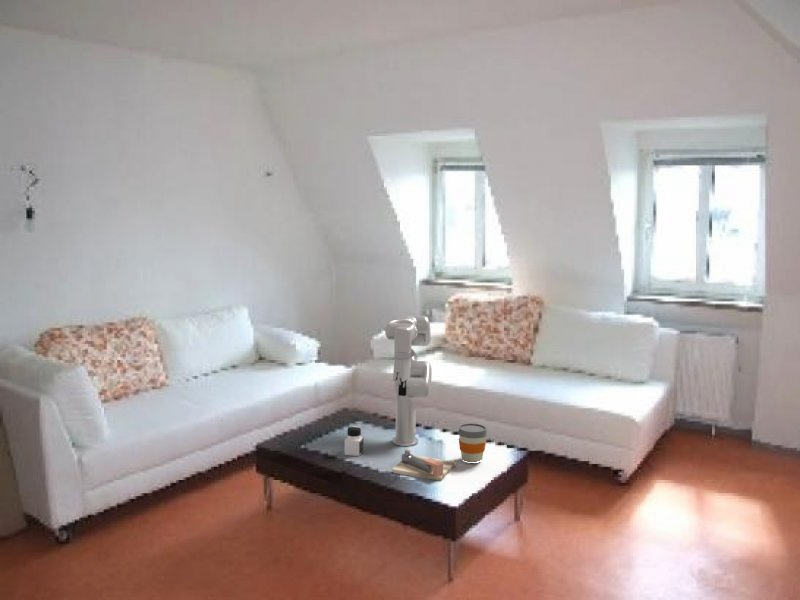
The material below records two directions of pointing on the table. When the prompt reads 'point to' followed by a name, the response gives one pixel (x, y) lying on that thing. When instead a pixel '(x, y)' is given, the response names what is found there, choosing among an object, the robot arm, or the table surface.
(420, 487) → the table surface
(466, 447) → the reusable coffee cup
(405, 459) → the steel link
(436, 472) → the keeper
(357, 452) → the medicine bottle
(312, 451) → the table surface
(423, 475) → the birch board
